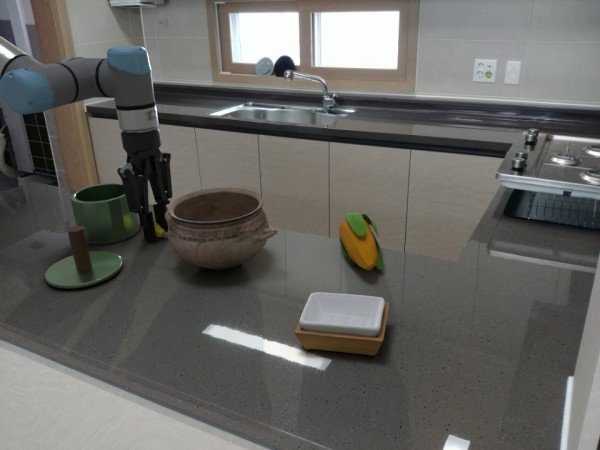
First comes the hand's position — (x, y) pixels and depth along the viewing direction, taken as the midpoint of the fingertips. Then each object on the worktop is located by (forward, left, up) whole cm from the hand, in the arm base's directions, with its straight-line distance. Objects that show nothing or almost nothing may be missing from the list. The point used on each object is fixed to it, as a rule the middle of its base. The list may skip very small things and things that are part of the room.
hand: (156, 236), depth 115 cm
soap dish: (+51, -17, -1) cm, 54 cm away
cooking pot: (+20, -4, -1) cm, 20 cm away
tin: (-12, -2, 0) cm, 12 cm away
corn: (+44, +8, -1) cm, 45 cm away
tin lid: (-2, -18, 0) cm, 18 cm away
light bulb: (0, 0, -1) cm, 1 cm away
